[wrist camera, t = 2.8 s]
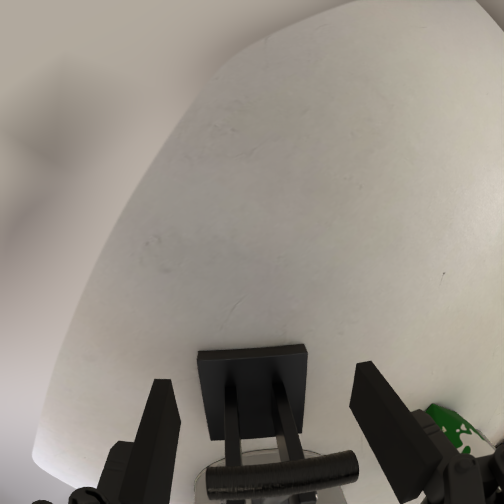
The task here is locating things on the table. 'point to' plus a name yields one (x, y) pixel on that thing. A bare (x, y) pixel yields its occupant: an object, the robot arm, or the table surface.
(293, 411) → the black lever switch
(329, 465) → the lever handle
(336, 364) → the table surface
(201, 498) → the container
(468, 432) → the milk carton
